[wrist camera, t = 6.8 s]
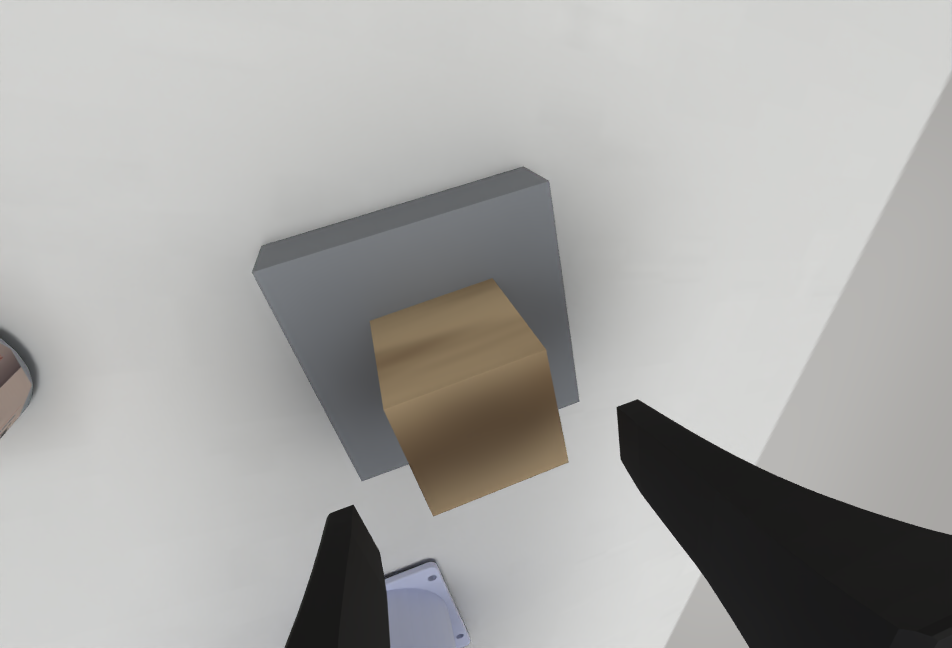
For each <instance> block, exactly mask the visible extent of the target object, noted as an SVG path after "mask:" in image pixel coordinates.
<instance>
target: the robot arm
mask: <svg viewBox="0 0 952 648" xmlns="http://www.w3.org/2000/svg"><path fill="white" fill-rule="evenodd" d="M617 418H618V431H619V444H620V457H621V461H622V462H623V464H624V466H625V468H626V469H627V471H628V473H629V474H630V476H631V478H632V479H633V481H634V483H635V484H636V486H637V488H638V489H639V491H640V492H641V494H642V495H643V497H644V498H645V499H646V501H647V502H648V503H649V505H650V506H651V507H652V509H653V510H654V511H655V512H656V514H657V515H658V516H659V518H660V519H661V520H662V522H663V523H664V524H665V525H666V527H667V528H668V529H669V531H670V532H671V533H672V535H673V536H674V537H675V538H676V540H677V541H678V542H679V544H680V545H681V546H682V547H683V549H684V550H685V551H686V553H687V554H688V555H689V557H690V558H691V559H692V560H693V562H694V563H695V564H696V566H697V567H698V568H699V570H700V571H701V573H702V574H703V575H704V577H705V578H706V579H707V581H708V582H709V584H710V586H711V587H712V589H713V590H714V592H715V593H716V595H717V596H718V598H719V600H720V601H721V603H722V604H723V606H724V607H725V609H726V610H727V612H728V613H729V615H730V617H731V618H732V620H733V622H734V623H735V625H736V626H737V628H738V630H739V631H740V633H741V635H742V636H743V638H744V639H745V641H746V643H747V644H748V646H749V648H952V535H949V534H945V533H941V532H937V531H933V530H929V529H926V528H922V527H918V526H915V525H912V524H908V523H905V522H902V521H898V520H895V519H892V518H889V517H885V516H882V515H879V514H876V513H873V512H870V511H867V510H864V509H861V508H858V507H855V506H853V505H850V504H847V503H844V502H841V501H838V500H836V499H833V498H830V497H827V496H824V495H822V494H819V493H816V492H814V491H812V490H809V489H807V488H804V487H802V486H799V485H797V484H795V483H792V482H790V481H788V480H785V479H783V478H781V477H778V476H776V475H774V474H772V473H769V472H767V471H765V470H763V469H761V468H759V467H757V466H755V465H753V464H751V463H749V462H747V461H745V460H743V459H741V458H739V457H737V456H735V455H733V454H731V453H729V452H727V451H725V450H723V449H721V448H720V447H718V446H716V445H714V444H712V443H711V442H709V441H707V440H705V439H703V438H702V437H700V436H698V435H696V434H695V433H693V432H691V431H689V430H688V429H686V428H684V427H683V426H681V425H679V424H678V423H676V422H674V421H673V420H671V419H669V418H668V417H666V416H664V415H663V414H661V413H659V412H658V411H656V410H655V409H653V408H651V407H650V406H648V405H646V404H645V403H643V402H641V401H640V400H638V399H637V400H634V401H632V402H629V403H626V404H624V405H621V406H618V407H617ZM469 643H470V637H469V634H468V632H467V629H466V627H465V625H464V623H463V621H462V618H461V616H460V614H459V612H458V610H457V607H456V605H455V603H454V601H453V599H452V596H451V594H450V592H449V590H448V588H447V585H446V583H445V581H444V579H443V577H442V574H441V572H440V570H439V568H438V566H437V564H436V563H434V562H428V563H425V564H422V565H420V566H417V567H415V568H412V569H409V570H407V571H404V572H402V573H399V574H397V575H394V576H392V577H389V578H387V579H384V573H383V567H382V562H381V556H380V552H379V550H378V548H377V546H376V544H375V543H374V541H373V539H372V537H371V535H370V534H369V532H368V530H367V528H366V526H365V525H364V523H363V521H362V519H361V517H360V516H359V514H358V512H357V510H356V508H355V507H354V505H351V506H349V507H346V508H343V509H340V510H338V511H335V512H332V513H330V514H329V515H328V517H327V519H326V523H325V527H324V531H323V535H322V538H321V542H320V546H319V549H318V553H317V556H316V559H315V563H314V566H313V569H312V572H311V576H310V579H309V582H308V585H307V588H306V591H305V594H304V597H303V600H302V603H301V606H300V608H299V611H298V614H297V617H296V619H295V622H294V624H293V627H292V630H291V632H290V635H289V637H288V640H287V643H286V645H285V648H463V647H465V646H467V645H468V644H469Z"/></svg>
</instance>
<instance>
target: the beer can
mask: <svg viewBox="0 0 952 648" xmlns="http://www.w3.org/2000/svg"><path fill="white" fill-rule="evenodd" d="M32 390H33V382H32V379H31V375H30V372H29V369H28V367H27V366H26V364H25V363H24V361H23V360H22V359H21V357H20V356H19V355H18V354H17V352H16V351H15V350H14V349H13V348H12V347H11V346H9V345H8V344H7V343H6V342H4V341H3V340H2V339H1V338H0V438H1V437H2V436H3V435H4V434H5V433H6V431H7V430H8V429H9V428H10V427H11V426H12V425H13V423H14V422H15V421H16V420H17V419H18V418H19V416H20V415H21V414H22V413H23V411H24V410H25V409H26V407H27V406H28V405H29V402H30V399H31V396H32Z"/></svg>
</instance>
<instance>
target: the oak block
mask: <svg viewBox="0 0 952 648" xmlns="http://www.w3.org/2000/svg"><path fill="white" fill-rule="evenodd" d="M370 327H371V333H372V339H373V346H374V352H375V359H376V365H377V371H378V378H379V384H380V391H381V397H382V403H383V410H384V412H385V414H386V416H387V418H388V420H389V423H390V425H391V427H392V429H393V431H394V433H395V435H396V438H397V440H398V442H399V444H400V446H401V448H402V450H403V453H404V455H405V457H406V459H407V461H408V463H409V465H410V467H411V470H412V472H413V474H414V476H415V478H416V480H417V482H418V485H419V487H420V489H421V491H422V493H423V495H424V497H425V500H426V502H427V504H428V506H429V508H430V510H431V512H432V515H433V516H436V515H438V514H441V513H443V512H446V511H448V510H451V509H453V508H456V507H458V506H461V505H463V504H466V503H468V502H471V501H473V500H476V499H478V498H481V497H483V496H486V495H488V494H491V493H493V492H496V491H498V490H501V489H503V488H506V487H508V486H511V485H513V484H516V483H518V482H521V481H523V480H526V479H528V478H531V477H533V476H536V475H538V474H541V473H543V472H546V471H548V470H551V469H553V468H556V467H558V466H561V465H563V464H566V463H568V457H567V452H566V447H565V442H564V437H563V432H562V427H561V422H560V417H559V412H558V407H557V402H556V397H555V392H554V387H553V382H552V377H551V372H550V367H549V362H548V357H547V352H546V349H545V347H544V346H543V345H542V343H541V342H540V341H539V339H538V338H537V337H536V335H535V334H534V333H533V331H532V330H531V329H530V327H529V326H528V325H527V323H526V322H525V321H524V319H523V318H522V317H521V315H520V314H519V313H518V311H517V310H516V309H515V307H514V306H513V305H512V303H511V302H510V301H509V299H508V298H507V297H506V295H505V294H504V293H503V291H502V290H501V289H500V287H499V286H498V285H497V284H496V282H495V281H494V280H493V278H491V279H488V280H485V281H483V282H480V283H477V284H474V285H471V286H468V287H465V288H462V289H460V290H457V291H454V292H451V293H448V294H445V295H442V296H440V297H437V298H434V299H431V300H428V301H425V302H422V303H420V304H417V305H414V306H411V307H408V308H405V309H402V310H399V311H397V312H394V313H391V314H388V315H385V316H382V317H379V318H377V319H374V320H371V321H370Z"/></svg>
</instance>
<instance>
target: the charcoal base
mask: <svg viewBox="0 0 952 648" xmlns="http://www.w3.org/2000/svg"><path fill="white" fill-rule="evenodd" d="M252 273H253V275H254V277H255V279H256V281H257V283H258V285H259V287H260V289H261V290H262V292H263V294H264V296H265V298H266V300H267V302H268V304H269V306H270V308H271V309H272V311H273V313H274V315H275V317H276V319H277V321H278V323H279V325H280V327H281V329H282V330H283V332H284V334H285V336H286V338H287V340H288V342H289V344H290V346H291V348H292V349H293V351H294V353H295V355H296V357H297V359H298V361H299V363H300V365H301V367H302V368H303V370H304V372H305V374H306V376H307V378H308V380H309V382H310V384H311V386H312V388H313V389H314V391H315V393H316V395H317V397H318V399H319V401H320V403H321V405H322V407H323V408H324V410H325V412H326V414H327V416H328V418H329V420H330V422H331V424H332V426H333V427H334V429H335V431H336V433H337V435H338V437H339V439H340V441H341V443H342V445H343V447H344V448H345V450H346V452H347V454H348V456H349V458H350V460H351V462H352V464H353V466H354V467H355V469H356V471H357V473H358V475H359V477H360V479H361V481H364V480H367V479H370V478H372V477H375V476H378V475H380V474H383V473H386V472H389V471H391V470H394V469H397V468H400V467H402V466H405V465H408V464H409V463H408V461H407V459H406V457H405V455H404V453H403V450H402V448H401V446H400V444H399V442H398V440H397V438H396V435H395V433H394V431H393V429H392V427H391V425H390V423H389V420H388V418H387V416H386V414H385V412H384V410H383V403H382V397H381V391H380V384H379V378H378V371H377V365H376V359H375V352H374V346H373V339H372V333H371V327H370V321H371V320H374V319H377V318H379V317H382V316H385V315H388V314H391V313H394V312H397V311H399V310H402V309H405V308H408V307H411V306H414V305H417V304H420V303H422V302H425V301H428V300H431V299H434V298H437V297H440V296H442V295H445V294H448V293H451V292H454V291H457V290H460V289H462V288H465V287H468V286H471V285H474V284H477V283H480V282H483V281H485V280H488V279H491V278H493V280H494V281H495V282H496V284H497V285H498V286H499V287H500V289H501V290H502V291H503V293H504V294H505V295H506V297H507V298H508V299H509V301H510V302H511V303H512V305H513V306H514V307H515V309H516V310H517V311H518V313H519V314H520V315H521V317H522V318H523V319H524V321H525V322H526V323H527V325H528V326H529V327H530V329H531V330H532V331H533V333H534V334H535V335H536V337H537V338H538V339H539V341H540V342H541V343H542V345H543V346H544V347H545V349H546V352H547V357H548V362H549V367H550V372H551V377H552V382H553V387H554V392H555V397H556V402H557V407H558V409H561V408H563V407H566V406H569V405H571V404H574V403H577V402H579V395H578V387H577V380H576V373H575V366H574V358H573V351H572V344H571V337H570V329H569V322H568V315H567V307H566V300H565V293H564V286H563V278H562V271H561V264H560V256H559V249H558V242H557V235H556V227H555V220H554V213H553V205H552V198H551V191H550V184H549V181H548V180H546V179H545V178H543V177H541V176H539V175H537V174H536V173H534V172H532V171H530V170H528V169H527V168H525V167H521V168H518V169H514V170H511V171H508V172H504V173H501V174H498V175H495V176H491V177H488V178H485V179H481V180H478V181H475V182H471V183H468V184H465V185H462V186H458V187H455V188H452V189H448V190H445V191H442V192H438V193H435V194H432V195H428V196H425V197H422V198H419V199H415V200H412V201H409V202H405V203H402V204H399V205H395V206H392V207H389V208H385V209H382V210H379V211H376V212H372V213H369V214H366V215H362V216H359V217H356V218H352V219H349V220H346V221H342V222H339V223H336V224H333V225H329V226H326V227H323V228H319V229H316V230H313V231H309V232H306V233H303V234H300V235H296V236H293V237H290V238H286V239H283V240H280V241H276V242H273V243H270V244H266V245H263V246H261V249H260V252H259V255H258V257H257V260H256V263H255V266H254V268H253V271H252Z"/></svg>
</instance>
